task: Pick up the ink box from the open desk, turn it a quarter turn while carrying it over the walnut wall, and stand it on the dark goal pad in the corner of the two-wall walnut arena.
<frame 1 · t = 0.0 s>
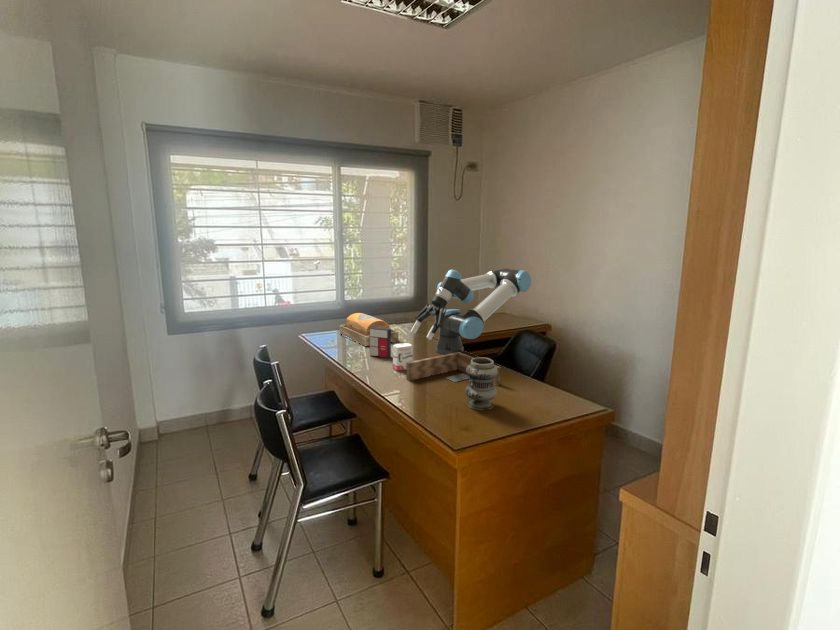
hand: (420, 335, 210), 15 cm above the table, tool tilted 35°, fingers open, 13 cm apart
ink box: (402, 369, 210), on the table
orange rounded block: (368, 338, 267), resting in crate
apothecary jar: (480, 405, 167), on the table
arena: (457, 369, 208), on the table
crate: (368, 337, 267), on the table
grey and red box: (380, 356, 229), on the table
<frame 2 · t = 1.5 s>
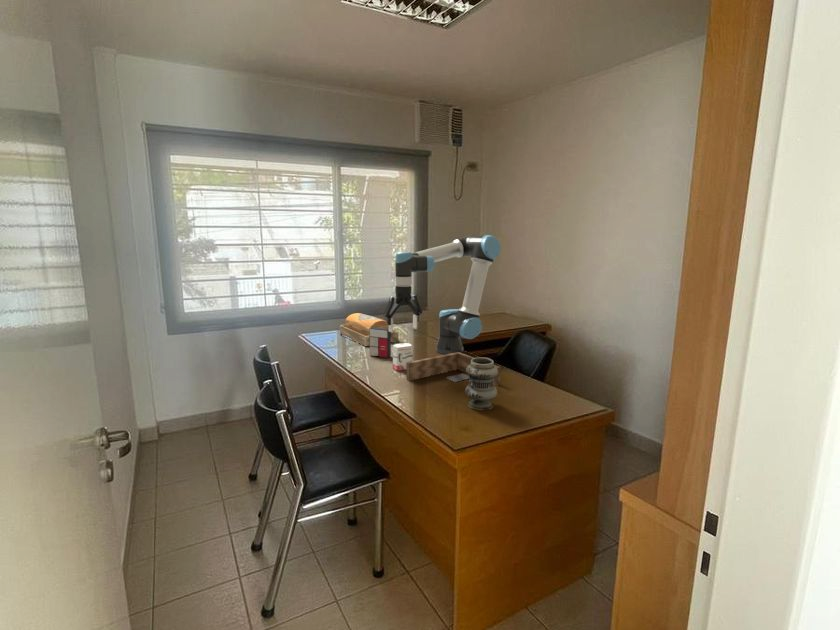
hand: (403, 330, 206), 19 cm above the table, tool pointing down, fingers open, 13 cm apart
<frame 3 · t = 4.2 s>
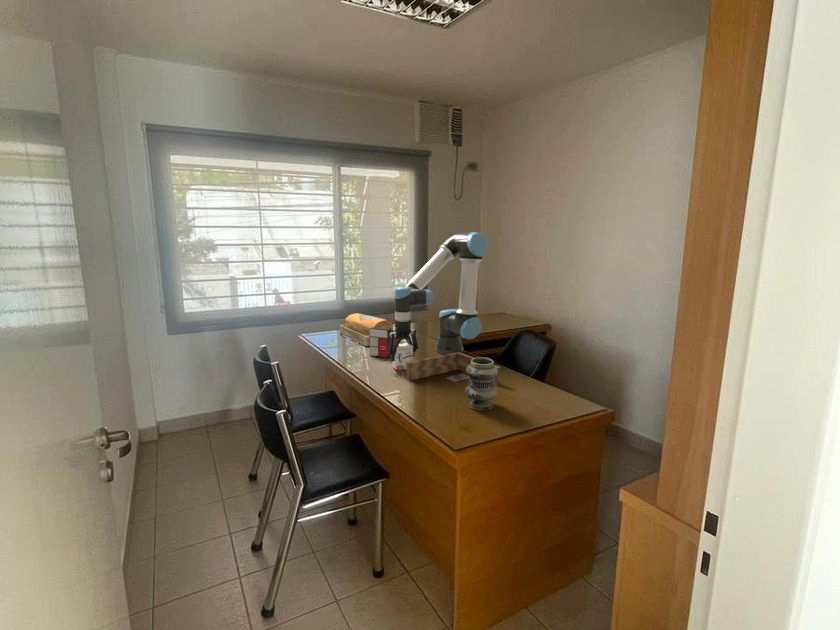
hand: (402, 365, 209), 1 cm above the table, tool pointing down, fingers closed on ink box, 9 cm apart
ink box: (402, 368, 210), on the table, touching gripper
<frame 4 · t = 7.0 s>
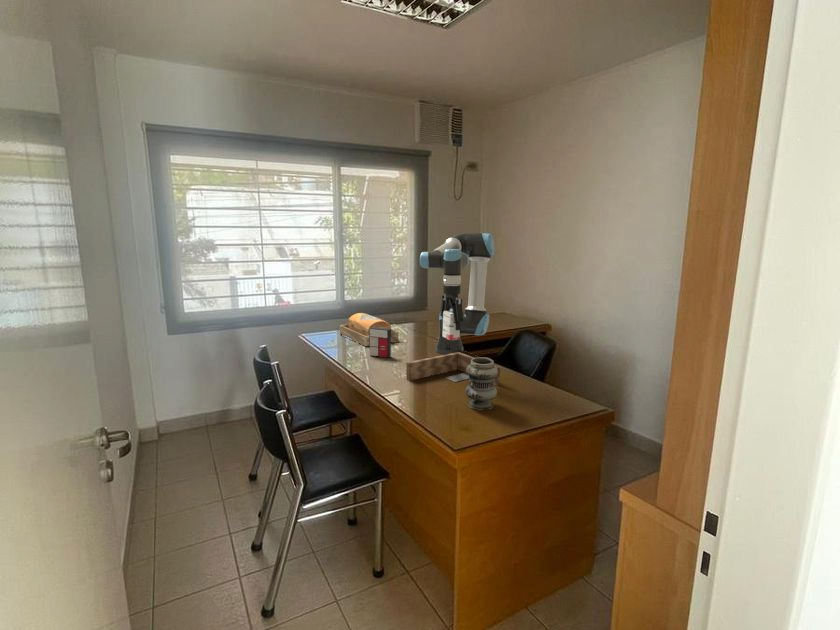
hand: (450, 334, 194), 20 cm above the table, tool pointing down, fingers closed on ink box, 9 cm apart
ink box: (450, 338, 195), point 18 cm above the table, touching gripper
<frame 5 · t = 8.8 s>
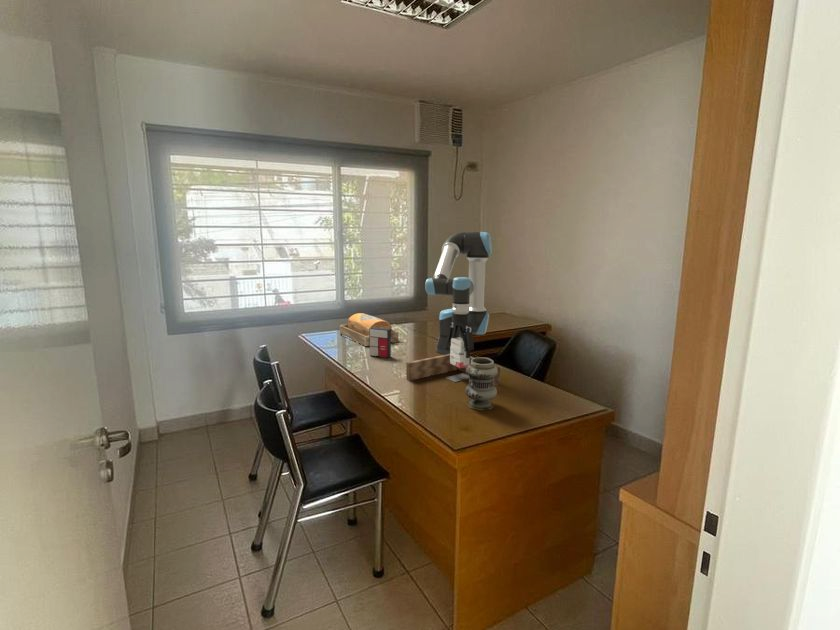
hand: (459, 361, 195), 8 cm above the table, tool pointing down, fingers closed on ink box, 9 cm apart
ink box: (459, 365, 195), point 6 cm above the table, touching gripper
when the fingers open (3 cm above the table, at t = 10.3 s): ink box drops 2 cm, resting on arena.
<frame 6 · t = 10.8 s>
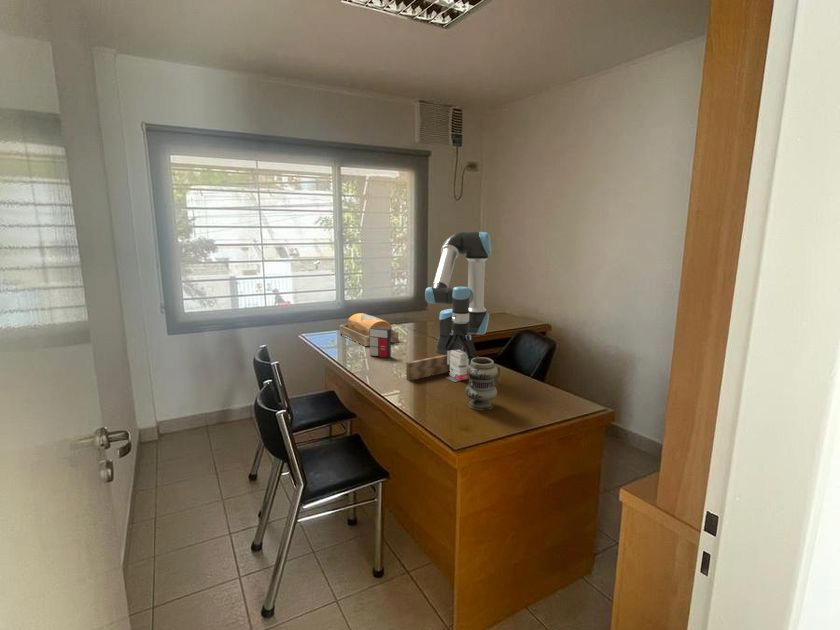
hand: (459, 368, 196), 5 cm above the table, tool pointing down, fingers open, 13 cm apart
ink box: (458, 377, 197), resting on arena
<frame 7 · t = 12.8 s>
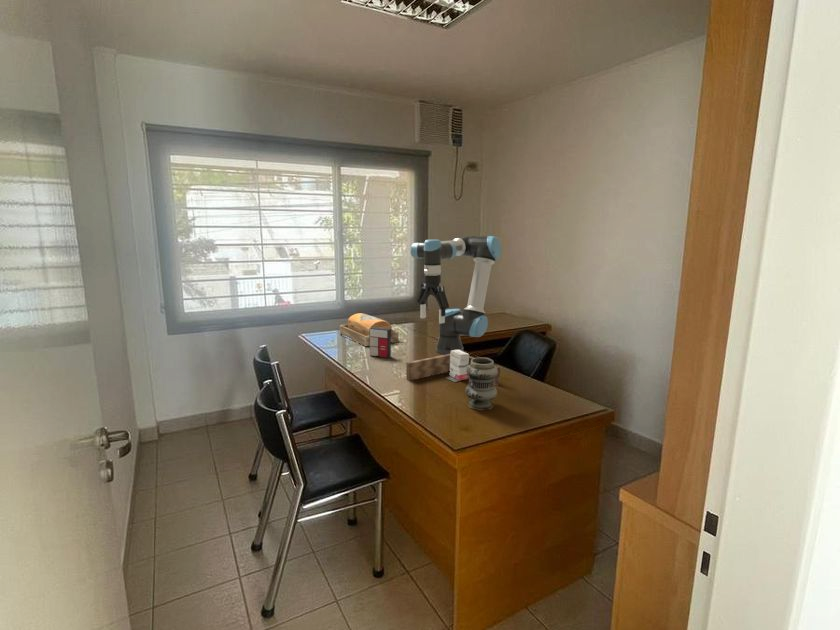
hand: (432, 320, 200), 25 cm above the table, tool pointing down, fingers open, 13 cm apart
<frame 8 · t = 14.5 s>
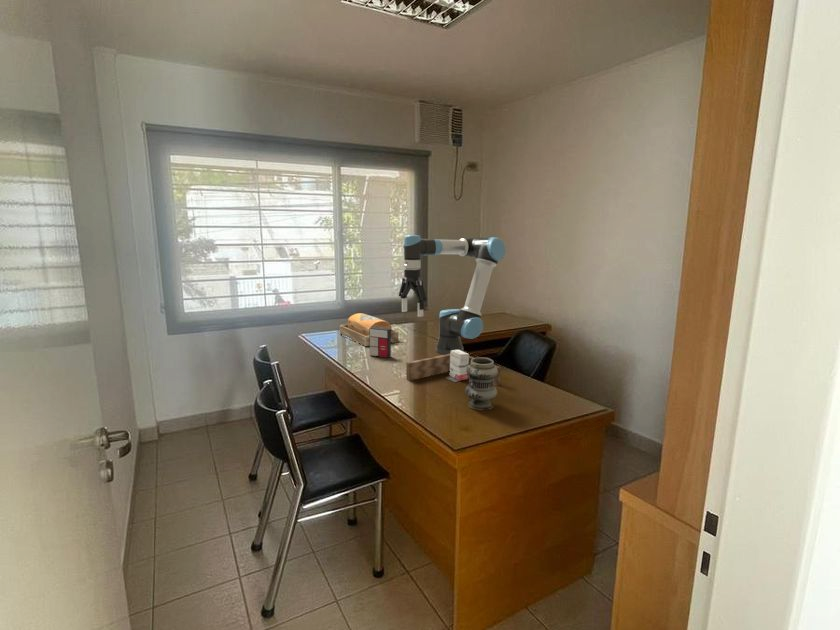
hand: (412, 314, 205), 27 cm above the table, tool pointing down, fingers open, 13 cm apart
at the end: ink box inside the target area (0.3 cm from its centre), resting on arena; ink box tilted 0°; the gripper is holding nothing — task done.
